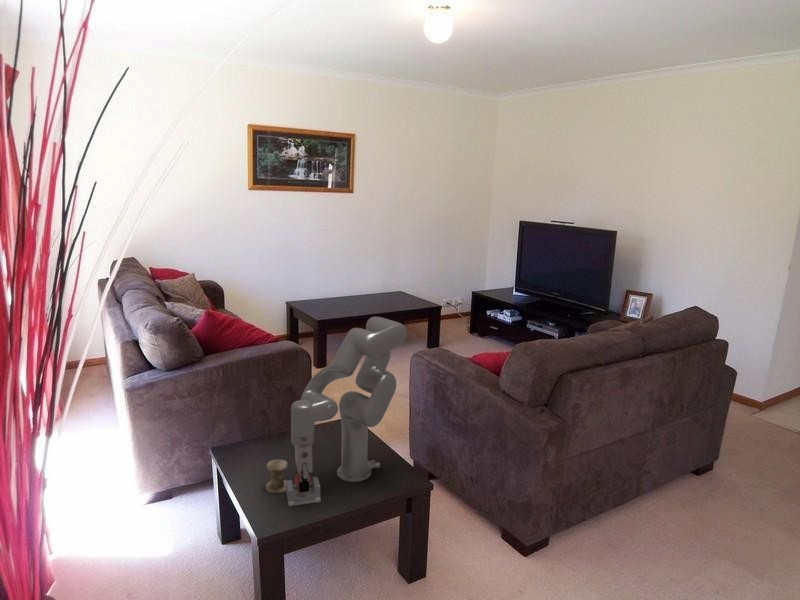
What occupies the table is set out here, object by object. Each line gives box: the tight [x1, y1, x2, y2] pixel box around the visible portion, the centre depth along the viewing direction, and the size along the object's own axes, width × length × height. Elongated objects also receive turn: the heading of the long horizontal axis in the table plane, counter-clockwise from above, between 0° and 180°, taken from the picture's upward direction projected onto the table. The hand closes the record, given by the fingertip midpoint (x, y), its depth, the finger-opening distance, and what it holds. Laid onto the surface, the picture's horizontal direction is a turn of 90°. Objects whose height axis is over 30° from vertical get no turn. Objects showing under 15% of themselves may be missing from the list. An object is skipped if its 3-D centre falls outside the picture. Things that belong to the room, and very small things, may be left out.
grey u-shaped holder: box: [285, 476, 322, 507], centre depth 184 cm, size 11×9×5 cm
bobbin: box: [265, 458, 288, 495], centre depth 189 cm, size 8×8×9 cm
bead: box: [293, 471, 312, 488], centre depth 183 cm, size 6×6×6 cm
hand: (303, 485), depth 183 cm, fingers closed on bead, 5 cm apart
